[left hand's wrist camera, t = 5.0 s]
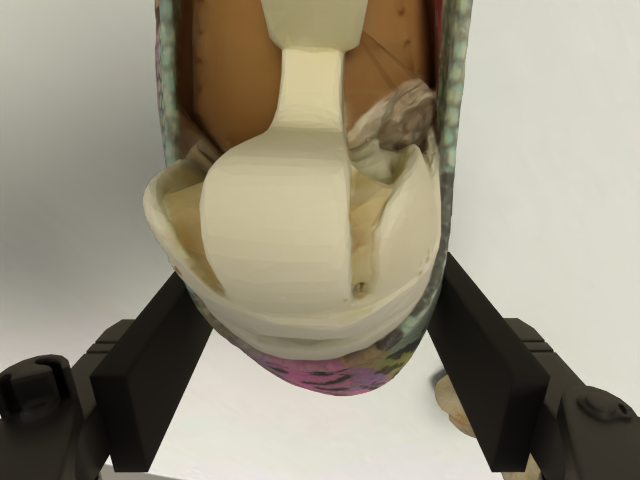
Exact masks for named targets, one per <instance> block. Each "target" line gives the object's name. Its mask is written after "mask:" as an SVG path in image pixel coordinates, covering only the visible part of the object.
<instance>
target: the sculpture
mask: <svg viewBox="0 0 640 480" xmlns="http://www.w3.org/2000/svg"><path fill="white" fill-rule="evenodd" d="M435 397H436V400H437V403H438V405H439V406H440V408H441V409H442V410H444V411H445V412H447V413H448V414H449V419H450V421H451V422H452V423H453V424H454V425H455V426H456V427H457V428H458V429H459V430H460V431H461V432H463V433H464V434H466V435H469V436H471V437H474V438H476V436H475V434H474V432H473V429H472V427H471V425H470V423H469V421H468V418H467V416H466V414H465V412H464V410H463V407H462V405H461V403H460V401H459V399H458V396H457V394H456V392H455V390H454V388H453V385H452V383H451V381H450V379H449V377H448V374H447V375H446V376H444V377H443V378H441V379H440V380H439V381H438V382H437V384H436V386H435ZM501 473H502V476H503V479H504V480H538V476H539V473H540V469H539V467H538V465H537V464H536V462H535V460H534V459H533V457H532V455H531V453H530V455H529V459H528V463H527V466H526V470H525V472H501Z"/></svg>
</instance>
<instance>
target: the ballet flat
mask: <svg viewBox="0 0 640 480" xmlns="http://www.w3.org/2000/svg"><path fill="white" fill-rule="evenodd" d="M472 4H473V0H155V15H156V47H155V58H156V81H157V97H158V109H159V117H160V125H161V132H162V140H163V147H164V155H165V162H166V168H165V169H163V170H162V171H161V172H159V173H158V174H156V175H155V176H154V177H153V178H152V179H151V180H150V182H149V183H148V185H147V187H146V189H145V192H144V196H143V210H144V213H145V216H146V219H147V221H148V224H149V226H150V228H151V230H152V232H153V233H154V235H155V237H156V239H157V241H158V243H159V244H160V245H161V247H162V248H163V249H164V251H165V252H166V254H167V255H168V259H169V262H170V264H171V265H172V267H173V269H174V270H175V271H176V273H177V274H178V275H179V276H180V278H181V279H182V280H183V281H184V283H185V285H186V287H187V290H188V292H189V294H190V296H191V298H192V300H193V302H194V304H195V305H196V307H197V309H198V310H199V311H200V313H201V314H202V315H203V316H204V318H205V319H206V320H207V322H208V323H209V324H210V325H211V326H212V327H213V328H214V329H215V330H216V331H217V332H218V333H219V334H220V335H221V336H223V337H224V338H226V339H227V340H228V341H229V342H230V343H231V344H233V345H235V346H236V347H238V348H239V349H241V350H242V351H243V352H244V353H245V354H247V355H248V356H249V357H250V358H252V359H253V360H254V361H256V362H257V363H258V364H259V365H261V366H262V367H263V368H265V369H266V370H268V371H269V372H271V373H272V374H274V375H276V376H277V377H279V378H281V379H282V380H284V381H286V382H288V383H290V384H292V385H295V386H298V387H302V388H305V389H308V390H311V391H315V392H319V393H323V394H328V395H334V396H352V395H357V394H362V393H366V392H369V391H372V390H374V389H377V388H379V387H381V386H382V385H384V384H386V383H387V382H388V381H390V380H391V379H393V378H394V377H395V375H397V374H398V372H399V371H400V370H401V369H402V368H403V367H404V366H405V365H406V363H407V362H408V361H409V359H410V358H411V357H412V355H413V353H414V352H415V350H416V348H417V347H418V345H419V343H420V341H421V339H422V337H423V336H424V334H425V332H426V330H427V328H428V325H429V323H430V320H431V318H432V315H433V313H434V310H435V307H436V304H437V301H438V298H439V295H440V292H441V288H442V282H443V273H444V268H445V264H446V258H447V251H448V241H449V236H450V226H451V216H452V201H453V182H454V174H455V164H456V146H457V138H458V127H459V116H460V107H461V101H462V95H463V87H464V78H465V58H466V52H467V46H468V33H469V27H470V22H471V10H472Z"/></svg>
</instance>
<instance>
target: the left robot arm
mask: <svg viewBox="0 0 640 480" xmlns="http://www.w3.org/2000/svg"><path fill="white" fill-rule="evenodd" d="M212 330H213V327H212V326H211V325H210V324H209V323H208V322H207V320H206V319H205V318H204V316H203V315H202V314H201V313H200V311H199V310H198V309H197V307H196V305H195V304H194V302H193V300H192V298H191V296H190V294H189V292H188V290H187V287H186V285H185V283H184V281H183V280H182V279H181V278H180V276H179V275H178V274H177V273H176V271H175V272H174V273H173V274H172V275H171V276H170V278H169V279H168V280H167V281H166V283H165V284H164V285H163V286H162V288H161V289H160V290H159V291H158V292H157V294H156V295H155V296H154V297H153V299H152V300H151V301H150V302H149V303H148V305H147V306H146V307H145V308H144V310H143V311H142V312H141V313H140V315H139V316H138V317H137V318H136V319H122V320H121V321H119V322H118V323H116V324H114V325H113V326H111V327H110V328H108V329H106V330H105V331H104V333H103V334H102V335H101V336H100V337H99V338H98V339H97V340H96V341H95V342H96V343H95V344H93V345H92V346H91V347H90V348H89V349H88V350H87V353H86V354H84V355H83V356H82V357H81V358H80V359H79V360H78V361H77V362H76V364H75V365H74V366H73V367H72V368H70V365H69V361H68V360H67V359H66V358H64V357H63V356H60V355H53V354H50V355H42V356H36V357H33V358H30V359H26V360H23V361H21V362H19V363H17V364H15V365H12V366H10V367H8V368H7V369H6V370H4V371H3V372H1V373H0V415H1V419H0V480H102V477H101V473H100V470H101V469H102V467H103V465H104V463H105V462H106V460H107V458H108V457H109V455H110V456H111V460H112V464H113V468H114V471H115V472H148V471H149V469H150V466H151V464H152V462H153V460H154V458H155V455H156V453H157V451H158V449H159V446H160V444H161V442H162V440H163V438H164V435H165V433H166V431H167V429H168V427H169V424H170V422H171V420H172V418H173V416H174V413H175V411H176V409H177V407H178V405H179V402H180V400H181V398H182V396H183V394H184V391H185V389H186V387H187V385H188V383H189V380H190V378H191V376H192V374H193V372H194V369H195V367H196V365H197V363H198V360H199V358H200V356H201V354H202V352H203V349H204V347H205V345H206V343H207V341H208V338H209V336H210V334H211V332H212ZM427 330H428V332H429V335H430V337H431V339H432V341H433V343H434V346H435V348H436V350H437V352H438V354H439V357H440V359H441V361H442V363H443V366H444V368H445V370H446V372H447V374H448V377H449V379H450V381H451V383H452V385H453V388H454V390H455V392H456V394H457V396H458V399H459V401H460V403H461V405H462V407H463V410H464V412H465V414H466V416H467V418H468V421H469V423H470V425H471V427H472V429H473V432H474V434H475V436H476V438H477V440H478V443H479V445H480V447H481V449H482V452H483V454H484V456H485V458H486V460H487V463H488V465H489V467H490V469H491V471H492V472H525V470H526V466H527V463H528V459H529V455H530V453H531V455H532V457H533V459H534V460H535V462H536V464H537V465H538V467H539V469H540V473H539V476H538V480H640V417H638V416H637V415H636V413H635V412H634V411H633V409H632V408H631V407H630V406H629V405H627V404H626V403H625V402H624V401H622V400H621V399H620V398H618V397H616V396H614V395H612V394H611V393H609V392H607V391H604V390H601V389H598V388H595V387H592V386H586V385H585V384H584V383H583V382H582V381H581V380H580V379H579V377H578V376H577V375H576V374H575V373H574V372H573V371H572V370H571V369H570V368H569V366H568V365H567V364H566V363H565V362H564V361H563V360H562V359H561V358H560V357H559V355H558V354H557V353H556V352H554V351H553V349H552V348H551V347H550V346H549V344H548V343H547V342H545V341H544V339H543V338H542V337H541V336H540V335H539V333H538V332H537V331H536V330H535V329H534V328H532V327H531V326H529V325H528V324H526V323H524V322H523V321H521V320H520V319H518V318H503V317H502V316H501V315H500V314H499V312H498V311H497V310H496V309H495V308H494V306H493V305H492V304H491V303H490V301H489V300H488V299H487V298H486V296H485V295H484V294H483V293H482V292H481V290H480V289H479V288H478V287H477V285H476V284H475V283H474V282H473V281H472V279H471V278H470V277H469V276H468V274H467V273H466V272H465V271H464V269H463V268H462V267H461V266H460V265H459V263H458V262H457V261H456V260H455V258H454V257H453V256H452V255H451V254H450V252H447V258H446V264H445V268H444V273H443V282H442V288H441V292H440V295H439V298H438V301H437V304H436V307H435V310H434V313H433V315H432V318H431V320H430V323H429V325H428V328H427Z"/></svg>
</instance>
